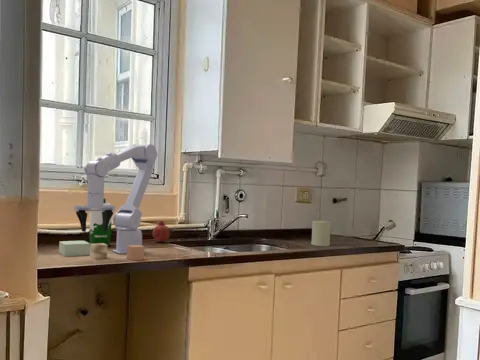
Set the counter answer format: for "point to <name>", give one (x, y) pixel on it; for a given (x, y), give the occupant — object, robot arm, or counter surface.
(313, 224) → the can
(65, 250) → the sage block
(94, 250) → the maple cube
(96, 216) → the milk carton
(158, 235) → the fruit
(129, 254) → the terracotta cube
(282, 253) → the counter surface
